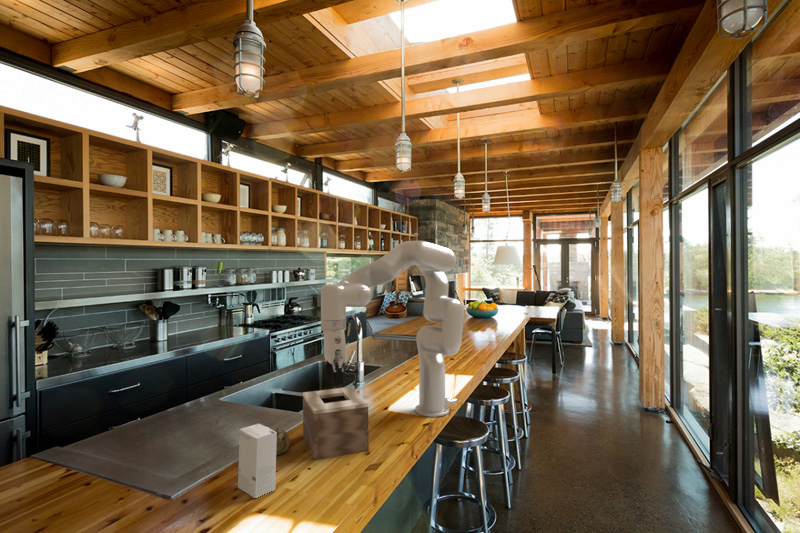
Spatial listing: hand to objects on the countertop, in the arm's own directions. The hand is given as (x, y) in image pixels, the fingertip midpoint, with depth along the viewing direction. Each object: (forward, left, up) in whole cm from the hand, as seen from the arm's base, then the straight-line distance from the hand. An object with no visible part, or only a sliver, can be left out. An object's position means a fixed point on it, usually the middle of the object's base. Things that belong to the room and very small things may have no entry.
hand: (334, 380), depth 134 cm
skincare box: (+24, +19, -20) cm, 36 cm away
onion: (+17, 0, -20) cm, 26 cm away
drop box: (0, 0, -19) cm, 19 cm away
